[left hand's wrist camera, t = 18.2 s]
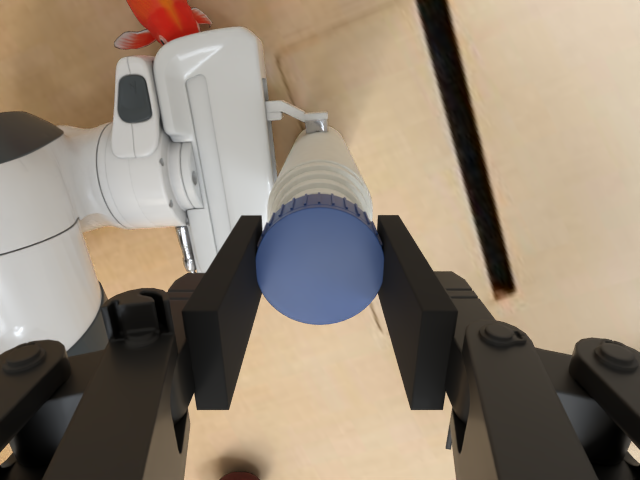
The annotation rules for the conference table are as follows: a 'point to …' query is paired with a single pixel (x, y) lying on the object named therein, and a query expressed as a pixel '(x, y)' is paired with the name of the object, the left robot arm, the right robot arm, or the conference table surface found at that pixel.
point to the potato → (239, 476)
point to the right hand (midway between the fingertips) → (330, 162)
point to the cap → (319, 259)
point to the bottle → (319, 172)
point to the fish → (161, 22)
